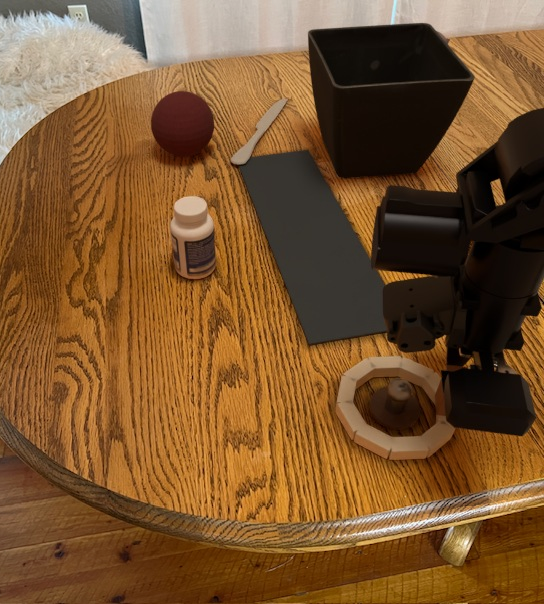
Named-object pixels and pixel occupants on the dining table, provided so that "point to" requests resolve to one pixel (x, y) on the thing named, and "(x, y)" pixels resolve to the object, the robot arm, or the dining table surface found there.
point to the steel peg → (395, 405)
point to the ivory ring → (378, 440)
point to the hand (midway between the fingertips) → (453, 392)
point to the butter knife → (258, 133)
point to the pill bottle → (193, 238)
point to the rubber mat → (315, 248)
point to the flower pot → (384, 95)
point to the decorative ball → (182, 124)
